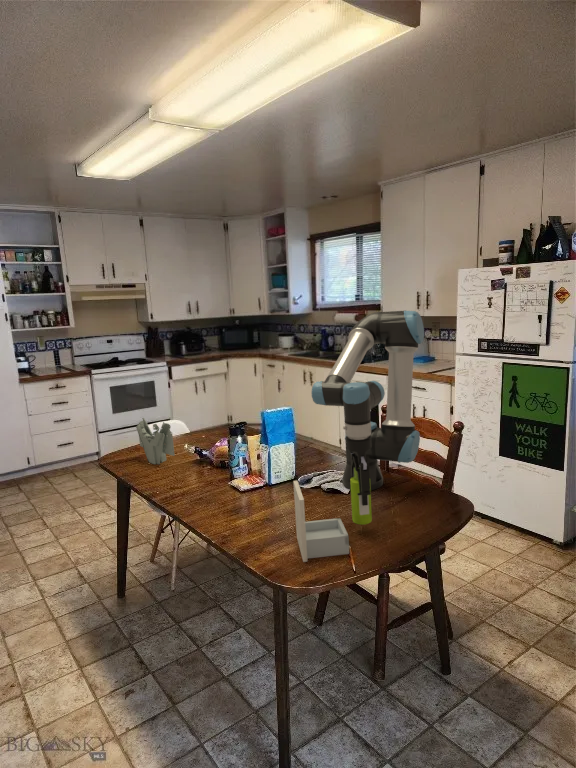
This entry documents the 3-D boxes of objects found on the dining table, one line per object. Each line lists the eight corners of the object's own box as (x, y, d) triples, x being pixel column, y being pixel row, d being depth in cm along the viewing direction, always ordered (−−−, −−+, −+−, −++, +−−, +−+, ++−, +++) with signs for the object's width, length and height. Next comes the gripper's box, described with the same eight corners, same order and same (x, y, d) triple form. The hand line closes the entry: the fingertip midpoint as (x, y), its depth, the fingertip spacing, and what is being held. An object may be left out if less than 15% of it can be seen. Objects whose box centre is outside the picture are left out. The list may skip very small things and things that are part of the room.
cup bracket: (339, 532, 148) (337, 476, 145) (350, 556, 135) (348, 495, 132) (296, 537, 147) (293, 480, 144) (303, 562, 134) (299, 500, 130)
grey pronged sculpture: (134, 458, 232) (129, 417, 228) (147, 454, 237) (142, 414, 233) (168, 469, 214) (163, 425, 210) (181, 464, 219) (177, 421, 215)
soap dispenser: (369, 513, 152) (366, 452, 148) (373, 523, 145) (370, 460, 141) (350, 514, 152) (347, 453, 148) (353, 525, 145) (350, 461, 141)
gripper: (338, 428, 152) (342, 497, 156) (353, 447, 133) (357, 525, 138) (362, 425, 152) (365, 494, 157) (380, 444, 134) (382, 522, 139)
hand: (361, 508), depth 147 cm, fingers closed on soap dispenser, 6 cm apart
